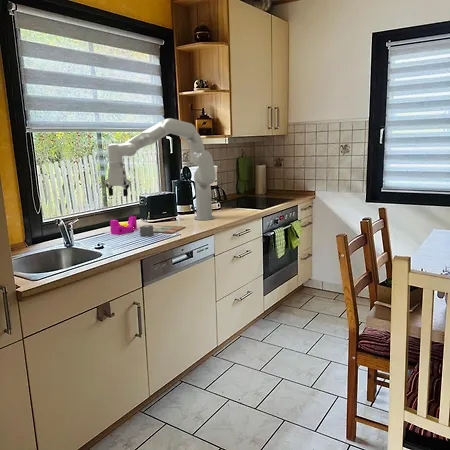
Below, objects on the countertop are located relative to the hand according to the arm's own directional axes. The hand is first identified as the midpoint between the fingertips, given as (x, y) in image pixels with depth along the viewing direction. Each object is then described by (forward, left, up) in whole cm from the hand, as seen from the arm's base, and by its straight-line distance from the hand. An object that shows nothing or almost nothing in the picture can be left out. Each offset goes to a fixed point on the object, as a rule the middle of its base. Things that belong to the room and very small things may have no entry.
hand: (118, 195), depth 241 cm
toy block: (+8, +8, -19) cm, 22 cm away
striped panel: (0, +28, -19) cm, 34 cm away
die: (+14, +25, -19) cm, 35 cm away
